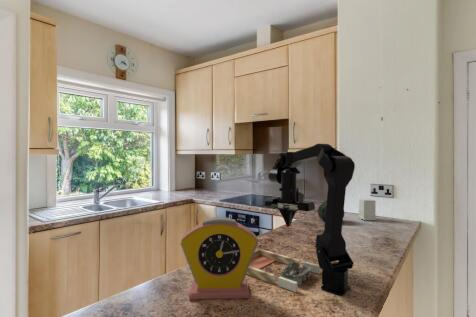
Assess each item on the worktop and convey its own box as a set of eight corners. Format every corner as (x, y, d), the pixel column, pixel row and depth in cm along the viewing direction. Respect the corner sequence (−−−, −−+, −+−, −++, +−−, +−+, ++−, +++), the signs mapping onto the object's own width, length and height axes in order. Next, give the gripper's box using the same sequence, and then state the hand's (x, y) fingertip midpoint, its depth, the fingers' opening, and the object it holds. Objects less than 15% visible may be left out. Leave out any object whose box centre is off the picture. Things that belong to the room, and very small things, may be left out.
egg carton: (292, 270, 97) (292, 258, 96) (313, 276, 92) (313, 264, 92) (277, 281, 88) (277, 268, 88) (298, 288, 83) (298, 274, 83)
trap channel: (299, 266, 99) (299, 259, 99) (272, 283, 86) (272, 275, 86) (258, 254, 111) (258, 248, 111) (229, 267, 98) (229, 260, 98)
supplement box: (375, 221, 168) (376, 200, 168) (363, 221, 168) (363, 200, 168) (370, 218, 176) (370, 198, 175) (358, 218, 176) (358, 198, 176)
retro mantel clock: (179, 300, 76) (178, 222, 75) (183, 284, 85) (183, 215, 85) (258, 298, 77) (259, 221, 77) (255, 283, 86) (255, 214, 86)
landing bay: (321, 273, 94) (321, 265, 94) (295, 292, 80) (295, 283, 80) (304, 268, 98) (304, 261, 98) (277, 285, 84) (278, 277, 84)
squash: (324, 208, 180) (319, 192, 171) (348, 212, 171) (344, 196, 163) (318, 226, 171) (312, 210, 163) (342, 231, 163) (338, 215, 154)
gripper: (321, 185, 104) (321, 226, 104) (279, 182, 116) (279, 219, 117) (307, 187, 96) (307, 232, 96) (263, 184, 108) (263, 223, 108)
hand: (288, 226), depth 104 cm, fingers closed
